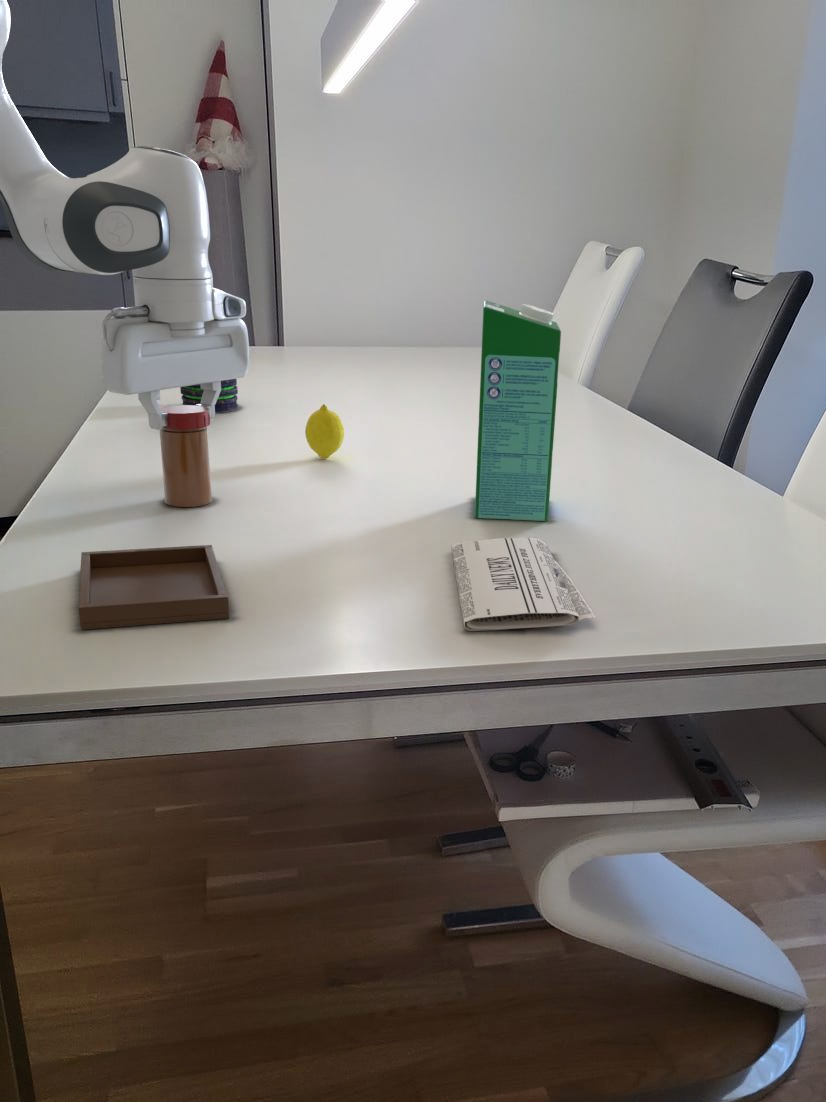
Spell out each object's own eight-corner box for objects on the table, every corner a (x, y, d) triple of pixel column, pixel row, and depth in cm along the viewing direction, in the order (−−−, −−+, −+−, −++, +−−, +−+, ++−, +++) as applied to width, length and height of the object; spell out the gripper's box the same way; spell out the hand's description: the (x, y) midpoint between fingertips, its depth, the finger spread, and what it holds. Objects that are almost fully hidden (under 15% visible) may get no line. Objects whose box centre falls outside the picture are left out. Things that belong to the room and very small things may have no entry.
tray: (83, 571, 103) (81, 552, 102) (212, 563, 107) (211, 544, 106) (81, 630, 90) (78, 607, 89) (229, 618, 94) (228, 596, 93)
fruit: (322, 465, 148) (321, 409, 145) (298, 458, 152) (296, 403, 149) (351, 459, 152) (351, 405, 149) (327, 453, 156) (326, 399, 153)
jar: (155, 502, 127) (148, 415, 123) (189, 493, 132) (183, 409, 128) (188, 509, 125) (181, 421, 121) (221, 500, 129) (216, 415, 125)
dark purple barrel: (247, 410, 183) (243, 323, 177) (193, 414, 178) (187, 324, 172) (226, 401, 191) (221, 316, 185) (173, 404, 185) (167, 318, 179)
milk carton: (547, 521, 127) (562, 309, 117) (474, 518, 127) (483, 305, 117) (544, 502, 135) (558, 302, 126) (475, 499, 135) (484, 299, 125)
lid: (182, 431, 121) (181, 415, 120) (144, 425, 124) (143, 409, 123) (221, 424, 126) (220, 408, 125) (184, 418, 129) (182, 403, 128)
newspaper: (598, 632, 94) (597, 607, 93) (465, 643, 94) (463, 618, 93) (561, 552, 115) (560, 530, 114) (452, 561, 115) (450, 539, 113)
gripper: (122, 310, 110) (133, 440, 115) (255, 301, 126) (260, 415, 131) (82, 306, 112) (95, 432, 118) (217, 297, 129) (224, 409, 134)
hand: (183, 423), depth 125 cm, fingers closed on lid, 6 cm apart
